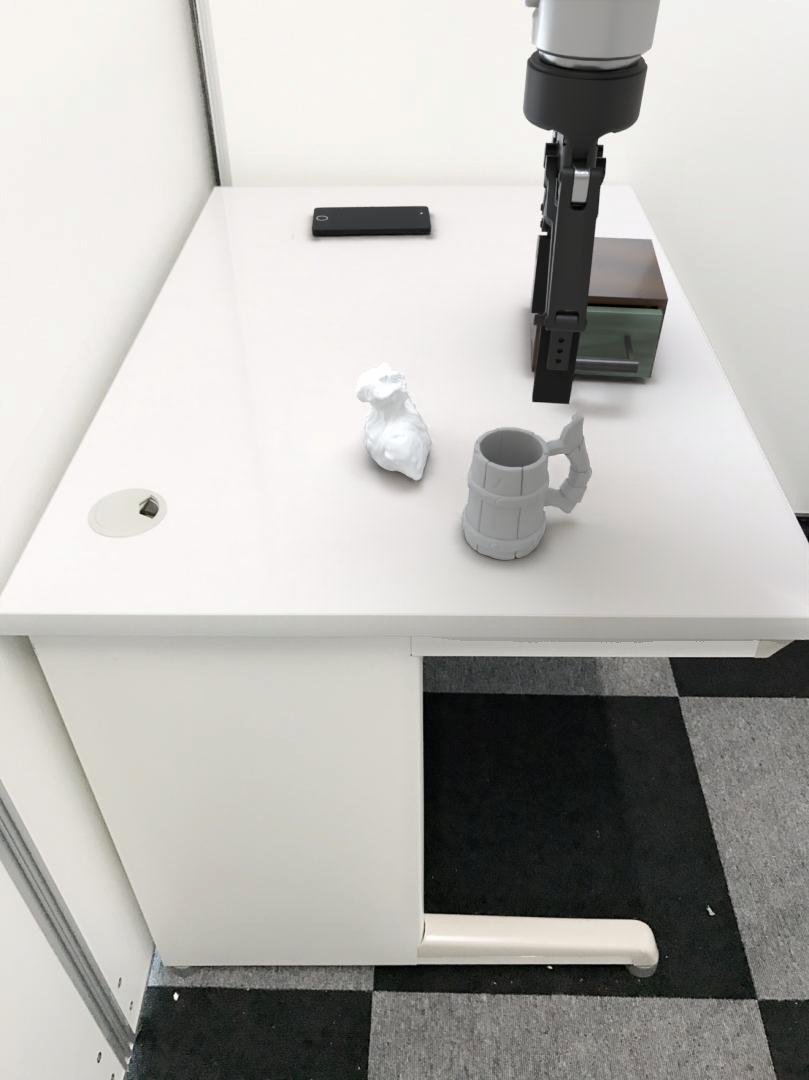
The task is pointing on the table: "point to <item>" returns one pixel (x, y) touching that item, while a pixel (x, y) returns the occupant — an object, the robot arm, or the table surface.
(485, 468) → the mug
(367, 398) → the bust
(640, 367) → the drawer
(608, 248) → the cabinet
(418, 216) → the cell phone
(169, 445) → the table surface
